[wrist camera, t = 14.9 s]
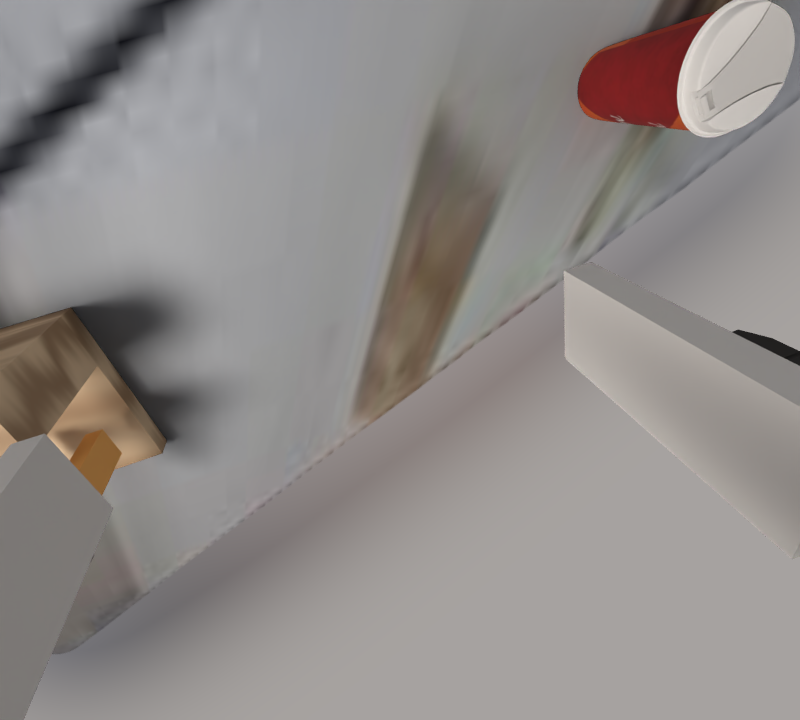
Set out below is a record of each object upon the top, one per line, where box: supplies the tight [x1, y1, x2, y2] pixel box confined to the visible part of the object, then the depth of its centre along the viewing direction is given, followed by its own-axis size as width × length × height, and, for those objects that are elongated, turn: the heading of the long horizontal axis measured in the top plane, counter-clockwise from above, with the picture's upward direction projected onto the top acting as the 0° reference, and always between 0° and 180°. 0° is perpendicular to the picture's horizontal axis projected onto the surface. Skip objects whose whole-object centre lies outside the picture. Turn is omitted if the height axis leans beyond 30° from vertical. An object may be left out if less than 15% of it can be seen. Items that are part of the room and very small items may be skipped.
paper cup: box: [578, 0, 795, 138], centre depth 33 cm, size 8×8×14 cm
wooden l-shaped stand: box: [0, 307, 167, 561], centre depth 35 cm, size 17×10×14 cm, turn 14°
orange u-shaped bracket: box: [70, 429, 122, 495], centre depth 34 cm, size 3×8×10 cm, turn 104°
